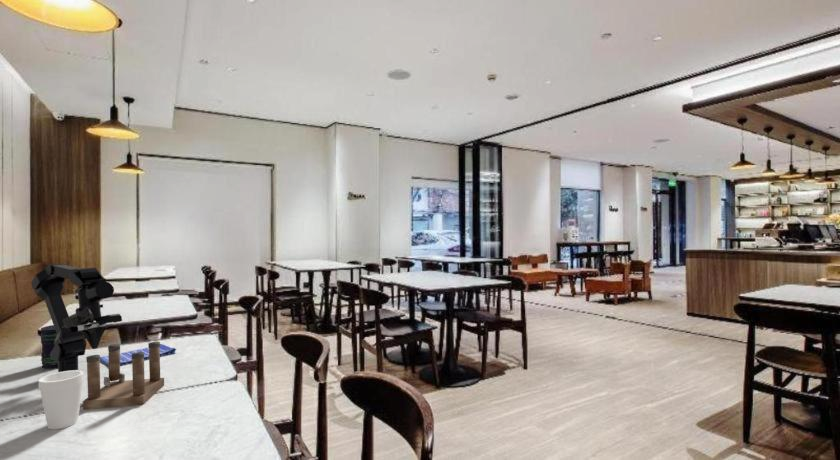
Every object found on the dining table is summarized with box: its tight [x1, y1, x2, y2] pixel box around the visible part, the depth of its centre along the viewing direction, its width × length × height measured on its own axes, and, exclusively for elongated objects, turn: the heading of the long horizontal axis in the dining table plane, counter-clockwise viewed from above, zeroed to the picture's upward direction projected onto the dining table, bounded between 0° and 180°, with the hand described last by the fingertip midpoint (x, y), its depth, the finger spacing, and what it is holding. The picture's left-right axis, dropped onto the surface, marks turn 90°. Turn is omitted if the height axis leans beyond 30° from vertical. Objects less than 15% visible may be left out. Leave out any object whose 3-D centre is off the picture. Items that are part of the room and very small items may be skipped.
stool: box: [82, 341, 165, 410], centre depth 137 cm, size 17×17×15 cm
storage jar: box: [40, 324, 58, 370], centre depth 170 cm, size 10×10×15 cm
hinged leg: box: [107, 343, 121, 382], centre depth 141 cm, size 3×3×11 cm
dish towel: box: [100, 343, 177, 367], centre depth 180 cm, size 17×24×3 cm
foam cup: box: [38, 369, 85, 430], centre depth 118 cm, size 10×9×13 cm
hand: (94, 348), depth 150 cm, fingers closed
